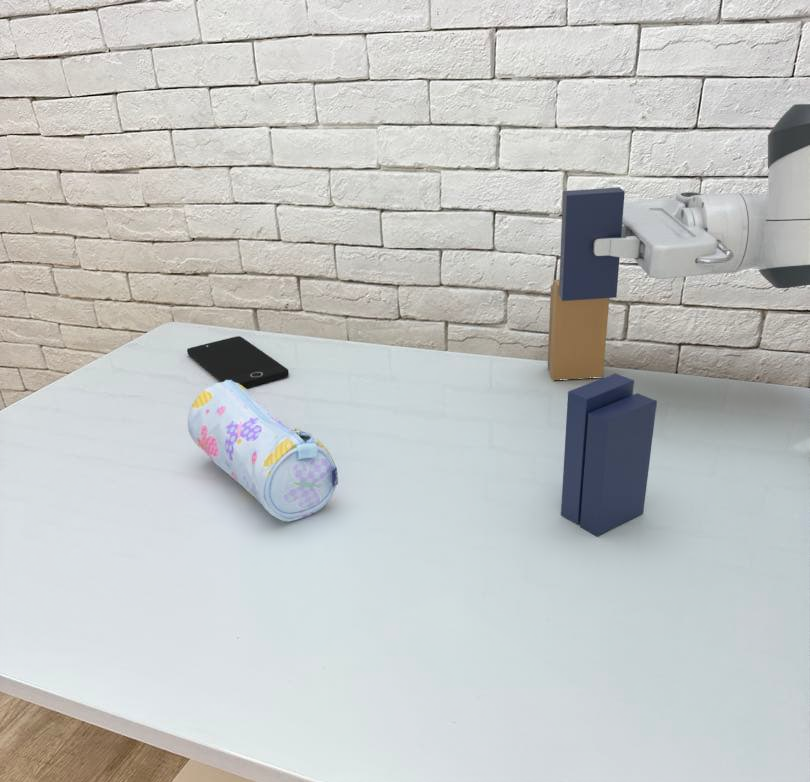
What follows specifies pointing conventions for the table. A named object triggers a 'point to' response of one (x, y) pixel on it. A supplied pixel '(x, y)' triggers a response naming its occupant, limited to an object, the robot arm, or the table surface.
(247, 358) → the cell phone
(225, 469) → the pencil case
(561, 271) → the navy book
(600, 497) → the navy books
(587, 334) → the tan rectangular block
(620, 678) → the table surface
